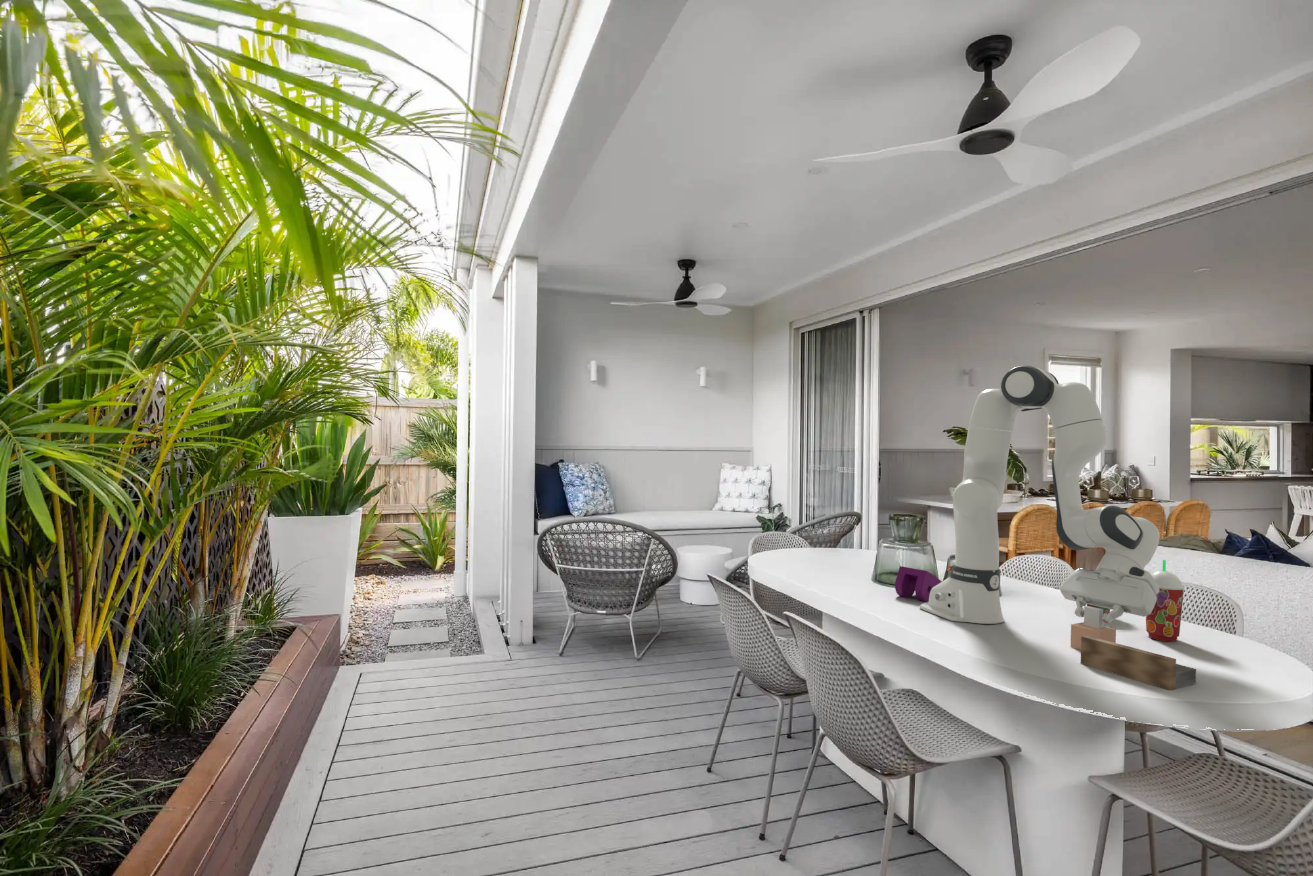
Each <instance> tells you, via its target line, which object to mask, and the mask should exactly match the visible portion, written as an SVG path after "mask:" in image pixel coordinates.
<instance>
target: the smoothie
mask: <svg viewBox="0 0 1313 876" xmlns="http://www.w3.org/2000/svg"><path fill="white" fill-rule="evenodd" d="M1166 562H1167V560H1166V559H1162V570H1156V571H1154V572H1151V573H1150V574H1151V575H1152V577H1153V578H1154V580H1155V581H1156V583H1157V585H1158V587H1159V593H1158V594H1157V595H1156V597H1157V600H1156V603H1155V606H1154V608H1153V610H1152V612H1151V613H1150V614H1149V615H1147V616H1145V629H1146V630H1145V631H1146V633H1147V634H1148V637H1149V638H1150V637H1151V639H1152V638H1153V639H1152V640H1155V639H1157V641H1160V640H1161V641H1160V642H1166V641H1174V642H1177V640H1178V637H1180V632H1181V624H1182V623H1181V622H1182V613H1183V601H1184V591H1185V586H1184V585H1183V584H1182V582H1181V580H1180V578H1179V577H1178V576H1177V575H1176V574H1174V573H1173V572H1170V571H1168V570H1166V569H1167V568H1166V567H1167V566H1166V565H1167V563H1166Z"/></svg>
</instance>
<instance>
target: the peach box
mask: <svg viewBox="0 0 1313 876" xmlns="http://www.w3.org/2000/svg"><path fill="white" fill-rule="evenodd" d="M1083 607H1084V608H1083V609H1084V617H1083V622H1076V623H1072V624H1070V648H1074V649H1077V648H1078V649H1077V650H1080V651H1081V636H1086V635H1087V636H1091V637H1095V638H1099V639H1102V640H1106V641H1110V642H1114V643H1117V642H1116V641H1117V639H1116V638H1117V629H1116V628H1112V627H1109V626H1104V622H1103V621H1102V617H1103V609H1100V608H1095V607H1091V606H1087V605H1086V606H1083Z"/></svg>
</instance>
